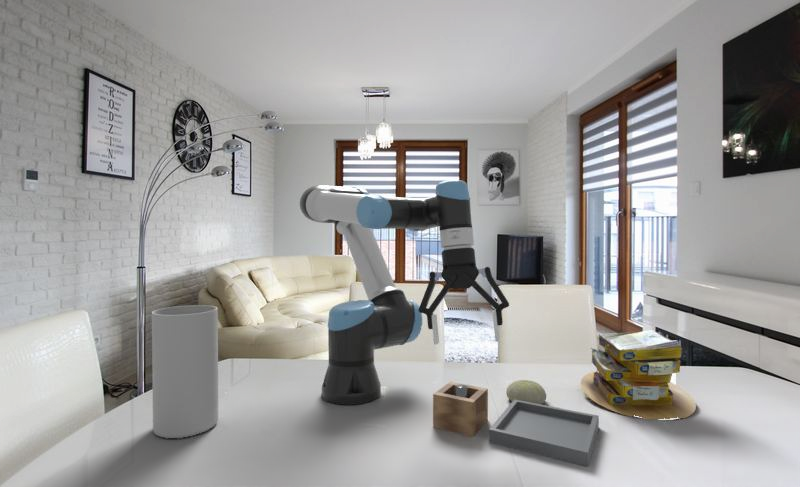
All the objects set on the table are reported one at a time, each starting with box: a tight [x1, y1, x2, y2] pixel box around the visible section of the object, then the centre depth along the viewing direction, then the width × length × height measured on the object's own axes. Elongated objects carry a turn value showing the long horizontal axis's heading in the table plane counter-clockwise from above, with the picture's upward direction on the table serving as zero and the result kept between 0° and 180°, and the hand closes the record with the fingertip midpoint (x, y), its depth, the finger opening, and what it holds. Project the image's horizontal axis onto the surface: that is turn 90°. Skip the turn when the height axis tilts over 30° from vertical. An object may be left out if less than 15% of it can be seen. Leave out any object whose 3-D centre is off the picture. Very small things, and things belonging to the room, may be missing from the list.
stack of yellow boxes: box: [580, 329, 697, 420], centre depth 107 cm, size 25×25×17 cm
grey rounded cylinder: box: [455, 384, 467, 398], centre depth 93 cm, size 3×3×8 cm
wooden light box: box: [432, 381, 489, 438], centre depth 94 cm, size 9×11×7 cm
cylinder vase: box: [151, 304, 219, 439], centre depth 91 cm, size 12×12×25 cm
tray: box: [488, 399, 600, 467], centre depth 88 cm, size 18×18×2 cm
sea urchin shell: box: [505, 379, 547, 405], centre depth 106 cm, size 9×8×8 cm
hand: (466, 342), depth 96 cm, fingers open, 13 cm apart
